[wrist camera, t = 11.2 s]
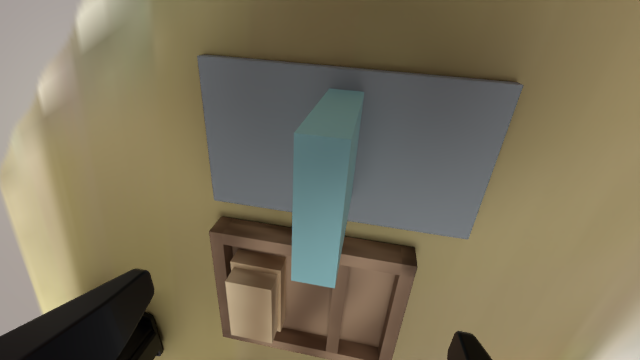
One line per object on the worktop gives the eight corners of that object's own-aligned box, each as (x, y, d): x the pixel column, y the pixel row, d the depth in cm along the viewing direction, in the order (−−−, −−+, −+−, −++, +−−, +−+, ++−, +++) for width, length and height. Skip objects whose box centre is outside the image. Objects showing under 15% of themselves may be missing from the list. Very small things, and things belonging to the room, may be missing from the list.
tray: (232, 318, 30) (223, 336, 28) (221, 216, 25) (208, 231, 23) (387, 350, 28) (388, 372, 26) (414, 247, 23) (417, 266, 21)
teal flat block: (322, 193, 21) (291, 280, 14) (329, 88, 18) (293, 132, 11) (351, 197, 21) (334, 288, 14) (364, 91, 17) (351, 139, 10)
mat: (219, 194, 24) (214, 200, 23) (204, 54, 19) (197, 55, 18) (465, 232, 21) (468, 239, 21) (517, 82, 17) (523, 85, 16)
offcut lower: (243, 308, 28) (236, 322, 27) (238, 248, 25) (230, 261, 24) (285, 317, 28) (280, 331, 26) (286, 257, 24) (280, 270, 23)
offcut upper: (238, 319, 27) (231, 334, 25) (233, 267, 24) (225, 281, 23) (277, 327, 26) (272, 343, 25) (277, 275, 23) (271, 290, 22)
